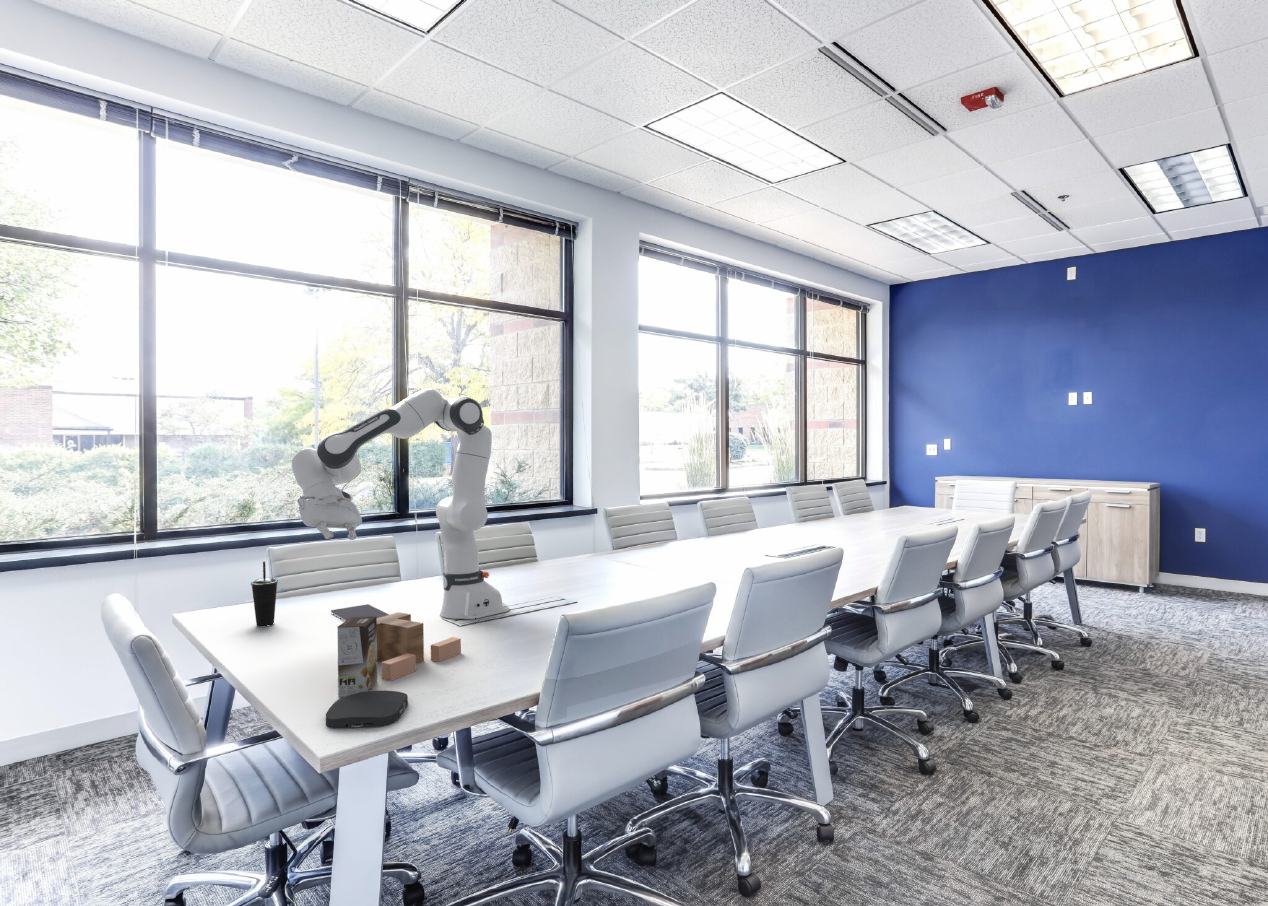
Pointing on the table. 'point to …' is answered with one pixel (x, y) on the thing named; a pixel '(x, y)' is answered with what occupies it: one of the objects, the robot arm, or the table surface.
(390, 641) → the t block
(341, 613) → the notebook
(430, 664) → the table surface
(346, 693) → the coffee box
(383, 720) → the media streaming box
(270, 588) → the drinking cup
